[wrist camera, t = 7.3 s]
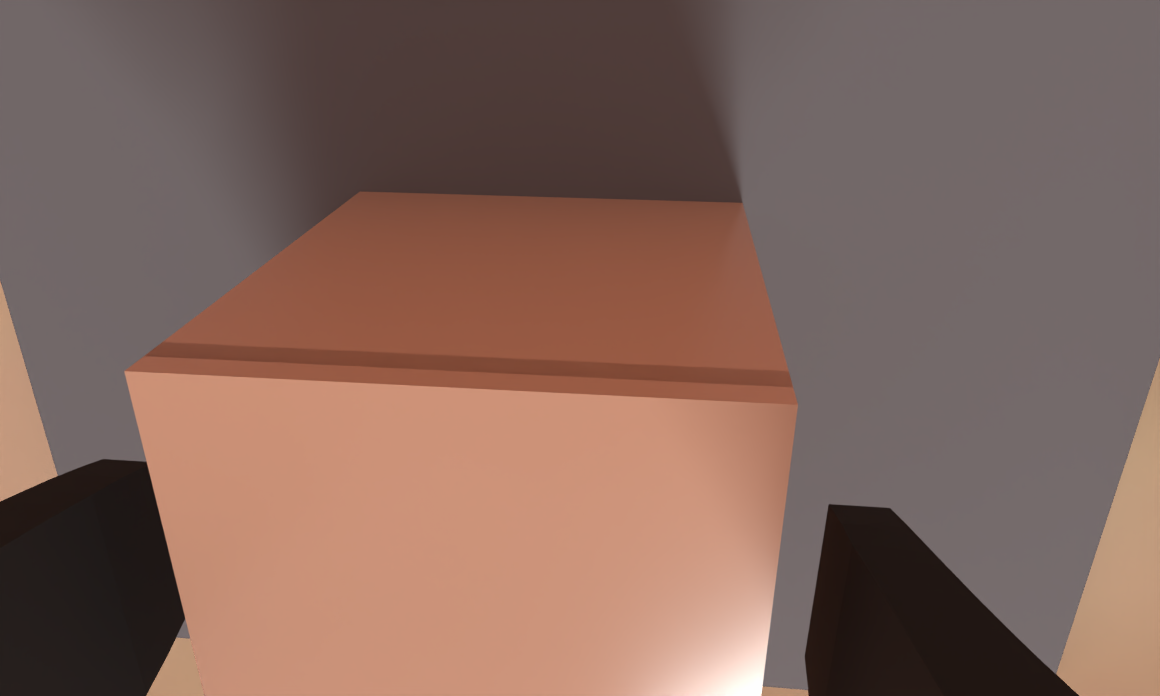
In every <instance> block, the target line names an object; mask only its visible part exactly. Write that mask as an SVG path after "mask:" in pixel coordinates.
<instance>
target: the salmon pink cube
mask: <svg viewBox="0 0 1160 696" xmlns="http://www.w3.org/2000/svg"><path fill="white" fill-rule="evenodd" d="M124 372H125V376H126V380H127V384H128V388H129V392H130V397H131V401H132V405H133V409H134V413H135V417H136V421H137V425H138V429H139V433H140V437H141V441H142V445H143V449H144V453H145V457H146V461H147V465H148V469H149V473H150V477H151V481H152V485H153V490H154V494H155V498H156V502H157V506H158V510H159V514H160V518H161V522H162V526H163V530H164V534H165V538H166V542H167V546H168V550H169V554H170V558H171V562H172V566H173V570H174V574H175V579H176V583H177V587H178V591H179V595H180V599H181V603H182V607H183V611H184V615H185V619H186V623H187V627H188V631H189V635H190V639H191V643H192V647H193V651H194V655H195V659H196V663H197V667H198V672H199V676H200V680H201V684H202V688H203V692H204V696H761V693H762V685H763V677H764V670H765V662H766V654H767V646H768V638H769V630H770V622H771V614H772V606H773V598H774V591H775V583H776V575H777V567H778V559H779V551H780V543H781V535H782V527H783V519H784V511H785V504H786V496H787V488H788V480H789V472H790V464H791V456H792V448H793V440H794V432H795V425H796V417H797V409H798V403H797V399H796V396H795V392H794V389H793V385H792V381H791V378H790V374H789V370H788V367H787V363H786V359H785V356H784V352H783V348H782V345H781V341H780V337H779V334H778V330H777V327H776V323H775V319H774V316H773V312H772V308H771V305H770V301H769V297H768V294H767V290H766V286H765V283H764V279H763V276H762V272H761V268H760V265H759V261H758V257H757V254H756V250H755V246H754V243H753V239H752V235H751V232H750V228H749V224H748V221H747V217H746V214H745V210H744V206H743V203H731V202H697V201H663V200H629V199H596V198H562V197H528V196H494V195H461V194H427V193H393V192H359V193H357V194H356V195H355V196H353V197H352V198H351V199H349V200H348V201H347V202H345V203H344V204H343V205H341V206H340V207H339V208H338V209H336V210H335V211H334V212H332V213H331V214H330V215H328V216H327V217H326V218H324V219H323V220H322V221H321V222H319V223H318V224H317V225H315V226H314V227H313V228H311V229H310V230H309V231H307V232H306V233H305V234H303V235H302V236H301V237H300V238H298V239H297V240H296V241H294V242H293V243H292V244H290V245H289V246H288V247H286V248H285V249H284V250H282V251H281V252H280V253H279V254H277V255H276V256H275V257H273V258H272V259H271V260H269V261H268V262H267V263H265V264H264V265H263V266H262V267H260V268H259V269H258V270H256V271H255V272H254V273H252V274H251V275H250V276H248V277H247V278H246V279H244V280H243V281H242V282H241V283H239V284H238V285H237V286H235V287H234V288H233V289H231V290H230V291H229V292H227V293H226V294H225V295H223V296H222V297H221V298H220V299H218V300H217V301H216V302H214V303H213V304H212V305H210V306H209V307H208V308H206V309H205V310H204V311H203V312H201V313H200V314H199V315H197V316H196V317H195V318H193V319H192V320H191V321H189V322H188V323H187V324H185V325H184V326H183V327H182V328H180V329H179V330H178V331H176V332H175V333H174V334H172V335H171V336H170V337H168V338H167V339H166V340H164V341H163V342H162V343H161V344H159V345H158V346H157V347H155V348H154V349H153V350H151V351H150V352H149V353H147V354H146V355H145V356H143V357H142V358H141V359H140V360H138V361H137V362H136V363H134V364H133V365H132V366H130V367H129V368H128V369H126V370H125V371H124Z"/></svg>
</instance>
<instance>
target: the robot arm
mask: <svg viewBox="0 0 1160 696" xmlns="http://www.w3.org/2000/svg"><path fill="white" fill-rule="evenodd" d="M184 620H185V615H184V611H183V607H182V603H181V599H180V595H179V591H178V587H177V583H176V579H175V574H174V570H173V566H172V562H171V558H170V554H169V550H168V546H167V542H166V538H165V534H164V530H163V526H162V522H161V518H160V514H159V510H158V506H157V502H156V498H155V494H154V490H153V485H152V481H151V477H150V473H149V469H148V465H147V462H143V461H127V460H111V459H101V460H99V461H96V462H93V463H90V464H87V465H85V466H82V467H79V468H77V469H74V470H72V471H69V472H67V473H64V474H62V475H59V476H57V477H55V478H52V479H50V480H48V481H45V482H43V483H41V484H39V485H36V486H34V487H32V488H30V489H27V490H25V491H23V492H21V493H18V494H16V495H14V496H12V497H10V498H8V499H5V500H3V501H1V502H0V696H146V695H147V693H148V691H149V689H150V687H151V685H152V683H153V682H154V680H155V678H156V676H157V674H158V672H159V670H160V668H161V667H162V665H163V663H164V661H165V659H166V657H167V655H168V653H169V651H170V649H171V647H172V645H173V643H174V641H175V639H176V637H177V635H178V633H179V631H180V629H181V626H182V624H183V622H184ZM805 665H806V674H807V684H808V693H809V696H1079V695H1078V694H1077V693H1076V692H1074V691H1073V690H1072V689H1071V688H1070V687H1069V686H1068V685H1067V684H1066V683H1065V682H1064V681H1063V680H1062V679H1060V678H1059V677H1058V676H1057V675H1056V674H1055V673H1054V672H1053V671H1052V670H1051V669H1050V668H1049V667H1048V666H1047V665H1045V664H1044V663H1043V662H1042V661H1041V660H1040V659H1039V658H1038V657H1037V656H1036V655H1035V654H1034V653H1033V652H1032V651H1031V650H1030V649H1029V648H1028V647H1027V646H1026V645H1024V644H1023V643H1022V642H1021V641H1020V640H1019V639H1018V638H1017V637H1016V636H1015V635H1014V634H1013V633H1012V632H1011V631H1010V630H1009V629H1008V628H1007V627H1006V626H1005V625H1004V624H1003V623H1002V622H1001V621H1000V620H999V619H998V618H997V617H996V616H995V615H994V614H993V613H992V612H991V611H990V610H989V609H988V608H987V607H986V606H985V605H984V604H983V603H982V602H981V601H980V600H979V599H978V598H977V597H976V596H975V595H974V594H973V593H972V592H971V591H970V590H969V589H968V588H967V587H966V586H965V585H964V584H963V583H962V582H961V580H960V579H959V578H958V577H957V576H956V575H955V574H954V573H953V572H952V571H951V570H950V569H949V568H948V567H947V566H946V565H945V564H944V563H943V562H942V561H941V560H940V559H939V558H938V557H937V556H936V555H935V554H934V552H933V551H932V550H931V549H930V548H929V547H928V546H927V545H926V544H925V543H924V542H923V541H922V540H921V539H920V538H919V537H918V536H917V535H916V534H915V533H914V532H913V531H912V530H911V528H910V527H909V526H908V525H907V524H906V523H905V522H904V521H903V520H902V519H901V518H900V517H899V516H898V515H897V514H896V513H895V512H894V511H893V510H892V509H891V508H884V507H868V506H852V505H836V504H829V505H828V511H827V518H826V524H825V530H824V537H823V543H822V549H821V556H820V562H819V568H818V575H817V581H816V587H815V594H814V600H813V606H812V613H811V619H810V625H809V632H808V638H807V644H806V651H805Z"/></svg>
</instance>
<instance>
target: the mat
mask: <svg viewBox="0 0 1160 696" xmlns="http://www.w3.org/2000/svg"><path fill="white" fill-rule="evenodd" d="M359 192H393V193H427V194H461V195H494V196H528V197H562V198H596V199H629V200H663V201H697V202H731V203H743V206H744V210H745V214H746V217H747V221H748V224H749V228H750V232H751V235H752V239H753V243H754V246H755V250H756V254H757V257H758V261H759V265H760V268H761V272H762V276H763V279H764V283H765V286H766V290H767V294H768V297H769V301H770V305H771V308H772V312H773V316H774V319H775V323H776V327H777V330H778V334H779V337H780V341H781V345H782V348H783V352H784V356H785V359H786V363H787V367H788V370H789V374H790V378H791V381H792V385H793V389H794V392H795V396H796V399H797V403H798V409H797V417H796V425H795V432H794V440H793V448H792V456H791V464H790V472H789V480H788V488H787V496H786V504H785V511H784V519H783V527H782V535H781V543H780V551H779V559H778V567H777V575H776V583H775V591H774V598H773V606H772V614H771V622H770V630H769V638H768V646H767V654H766V662H765V670H764V677H763V685H762V686H766V687H778V688H790V689H802V690H808V684H807V674H806V665H805V651H806V644H807V638H808V632H809V625H810V619H811V613H812V606H813V600H814V594H815V587H816V581H817V575H818V568H819V562H820V556H821V549H822V543H823V537H824V530H825V524H826V518H827V511H828V505H829V504H836V505H852V506H868V507H884V508H891V509H892V510H893V511H894V512H895V513H896V514H897V515H898V516H899V517H900V518H901V519H902V520H903V521H904V522H905V523H906V524H907V525H908V526H909V527H910V528H911V530H912V531H913V532H914V533H915V534H916V535H917V536H918V537H919V538H920V539H921V540H922V541H923V542H924V543H925V544H926V545H927V546H928V547H929V548H930V549H931V550H932V551H933V552H934V554H935V555H936V556H937V557H938V558H939V559H940V560H941V561H942V562H943V563H944V564H945V565H946V566H947V567H948V568H949V569H950V570H951V571H952V572H953V573H954V574H955V575H956V576H957V577H958V578H959V579H960V580H961V582H962V583H963V584H964V585H965V586H966V587H967V588H968V589H969V590H970V591H971V592H972V593H973V594H974V595H975V596H976V597H977V598H978V599H979V600H980V601H981V602H982V603H983V604H984V605H985V606H986V607H987V608H988V609H989V610H990V611H991V612H992V613H993V614H994V615H995V616H996V617H997V618H998V619H999V620H1000V621H1001V622H1002V623H1003V624H1004V625H1005V626H1006V627H1007V628H1008V629H1009V630H1010V631H1011V632H1012V633H1013V634H1014V635H1015V636H1016V637H1017V638H1018V639H1019V640H1020V641H1021V642H1022V643H1023V644H1024V645H1026V646H1027V647H1028V648H1029V649H1030V650H1031V651H1032V652H1033V653H1034V654H1035V655H1036V656H1037V657H1038V658H1039V659H1040V660H1041V661H1042V662H1043V663H1044V664H1045V665H1047V666H1048V667H1049V668H1050V669H1051V670H1052V671H1053V672H1054V673H1055V674H1056V672H1057V669H1058V666H1059V663H1060V660H1061V657H1062V654H1063V651H1064V648H1065V645H1066V642H1067V639H1068V636H1069V633H1070V630H1071V627H1072V624H1073V621H1074V618H1075V614H1076V611H1077V608H1078V605H1079V602H1080V599H1081V596H1082V593H1083V590H1084V587H1085V584H1086V581H1087V578H1088V575H1089V572H1090V569H1091V566H1092V563H1093V560H1094V557H1095V553H1096V550H1097V547H1098V544H1099V541H1100V538H1101V535H1102V532H1103V529H1104V526H1105V523H1106V520H1107V517H1108V514H1109V511H1110V508H1111V505H1112V502H1113V499H1114V496H1115V493H1116V489H1117V486H1118V483H1119V480H1120V477H1121V474H1122V471H1123V468H1124V465H1125V462H1126V459H1127V456H1128V453H1129V450H1130V447H1131V444H1132V441H1133V438H1134V435H1135V432H1136V429H1137V425H1138V422H1139V419H1140V416H1141V413H1142V410H1143V407H1144V404H1145V401H1146V398H1147V395H1148V392H1149V389H1150V386H1151V383H1152V380H1153V377H1154V374H1155V371H1156V368H1157V365H1158V361H1159V358H1160V0H0V281H1V284H2V288H3V291H4V294H5V298H6V301H7V305H8V308H9V311H10V315H11V318H12V321H13V325H14V328H15V332H16V335H17V338H18V342H19V345H20V349H21V352H22V355H23V359H24V362H25V366H26V369H27V372H28V376H29V379H30V383H31V386H32V389H33V393H34V396H35V399H36V403H37V406H38V410H39V413H40V416H41V420H42V423H43V427H44V430H45V433H46V437H47V440H48V444H49V447H50V450H51V454H52V457H53V461H54V464H55V467H56V471H57V474H58V476H59V475H62V474H64V473H67V472H69V471H72V470H74V469H77V468H79V467H82V466H85V465H87V464H90V463H93V462H96V461H99V460H101V459H111V460H127V461H143V462H147V461H146V457H145V453H144V449H143V445H142V441H141V437H140V433H139V429H138V425H137V421H136V417H135V413H134V409H133V405H132V401H131V397H130V392H129V388H128V384H127V380H126V376H125V372H124V371H125V370H126V369H128V368H129V367H130V366H132V365H133V364H134V363H136V362H137V361H138V360H140V359H141V358H142V357H143V356H145V355H146V354H147V353H149V352H150V351H151V350H153V349H154V348H155V347H157V346H158V345H159V344H161V343H162V342H163V341H164V340H166V339H167V338H168V337H170V336H171V335H172V334H174V333H175V332H176V331H178V330H179V329H180V328H182V327H183V326H184V325H185V324H187V323H188V322H189V321H191V320H192V319H193V318H195V317H196V316H197V315H199V314H200V313H201V312H203V311H204V310H205V309H206V308H208V307H209V306H210V305H212V304H213V303H214V302H216V301H217V300H218V299H220V298H221V297H222V296H223V295H225V294H226V293H227V292H229V291H230V290H231V289H233V288H234V287H235V286H237V285H238V284H239V283H241V282H242V281H243V280H244V279H246V278H247V277H248V276H250V275H251V274H252V273H254V272H255V271H256V270H258V269H259V268H260V267H262V266H263V265H264V264H265V263H267V262H268V261H269V260H271V259H272V258H273V257H275V256H276V255H277V254H279V253H280V252H281V251H282V250H284V249H285V248H286V247H288V246H289V245H290V244H292V243H293V242H294V241H296V240H297V239H298V238H300V237H301V236H302V235H303V234H305V233H306V232H307V231H309V230H310V229H311V228H313V227H314V226H315V225H317V224H318V223H319V222H321V221H322V220H323V219H324V218H326V217H327V216H328V215H330V214H331V213H332V212H334V211H335V210H336V209H338V208H339V207H340V206H341V205H343V204H344V203H345V202H347V201H348V200H349V199H351V198H352V197H353V196H355V195H356V194H357V193H359ZM177 637H178V638H190V635H189V631H188V627H187V623H186V619H185V620H184V622H183V624H182V626H181V629H180V631H179V633H178V635H177Z"/></svg>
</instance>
